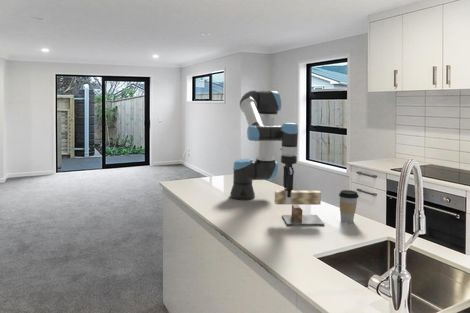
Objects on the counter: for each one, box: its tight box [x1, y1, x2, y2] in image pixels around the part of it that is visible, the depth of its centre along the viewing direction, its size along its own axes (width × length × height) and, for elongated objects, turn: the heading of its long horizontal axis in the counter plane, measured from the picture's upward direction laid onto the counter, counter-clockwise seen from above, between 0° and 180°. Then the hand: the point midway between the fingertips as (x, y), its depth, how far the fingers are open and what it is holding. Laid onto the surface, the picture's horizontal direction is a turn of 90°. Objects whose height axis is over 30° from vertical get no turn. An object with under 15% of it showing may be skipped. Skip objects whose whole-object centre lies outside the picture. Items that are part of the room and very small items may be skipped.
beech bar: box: [274, 189, 322, 206], centre depth 186 cm, size 22×4×6 cm, turn 93°
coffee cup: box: [338, 189, 360, 224], centre depth 187 cm, size 9×9×15 cm
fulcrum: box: [281, 204, 325, 227], centre depth 187 cm, size 18×14×7 cm
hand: (287, 202), depth 186 cm, fingers closed on beech bar, 4 cm apart
